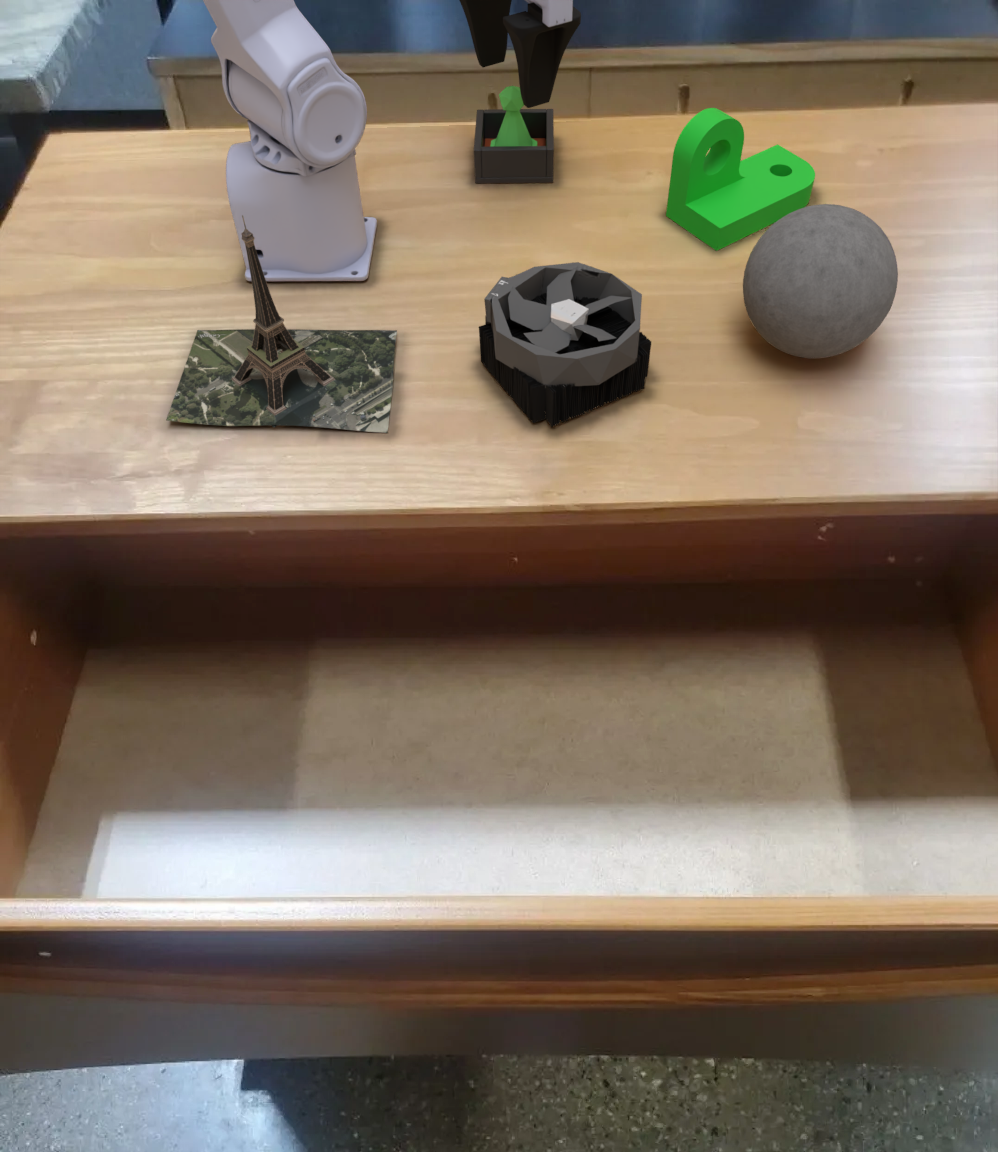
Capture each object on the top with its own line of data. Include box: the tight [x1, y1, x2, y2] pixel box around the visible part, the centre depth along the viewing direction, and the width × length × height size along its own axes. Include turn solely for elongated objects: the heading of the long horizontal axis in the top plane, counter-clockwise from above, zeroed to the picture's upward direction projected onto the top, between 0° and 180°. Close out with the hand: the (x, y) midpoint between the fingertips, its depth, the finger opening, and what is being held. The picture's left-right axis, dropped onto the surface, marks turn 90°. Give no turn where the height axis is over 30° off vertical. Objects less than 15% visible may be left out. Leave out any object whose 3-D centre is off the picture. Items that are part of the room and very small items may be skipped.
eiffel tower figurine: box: [165, 215, 398, 434], centre depth 66 cm, size 15×10×13 cm
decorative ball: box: [742, 203, 899, 359], centre depth 69 cm, size 10×10×10 cm
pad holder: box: [473, 108, 555, 184], centre depth 87 cm, size 7×7×3 cm
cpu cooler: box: [478, 261, 652, 428], centre depth 69 cm, size 10×6×10 cm
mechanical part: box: [665, 107, 816, 252], centre depth 80 cm, size 12×6×8 cm, turn 125°
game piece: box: [490, 85, 537, 147], centre depth 85 cm, size 4×4×6 cm
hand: (513, 82), depth 83 cm, fingers open, 7 cm apart
